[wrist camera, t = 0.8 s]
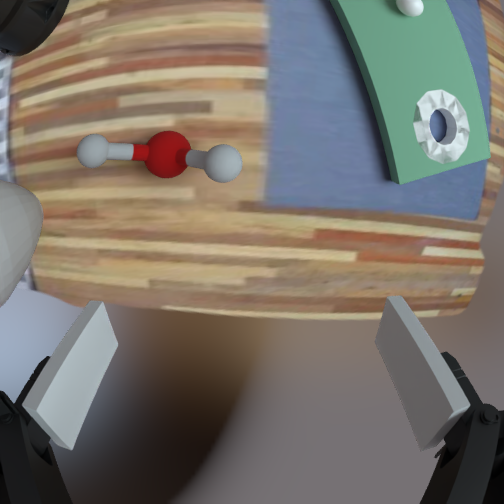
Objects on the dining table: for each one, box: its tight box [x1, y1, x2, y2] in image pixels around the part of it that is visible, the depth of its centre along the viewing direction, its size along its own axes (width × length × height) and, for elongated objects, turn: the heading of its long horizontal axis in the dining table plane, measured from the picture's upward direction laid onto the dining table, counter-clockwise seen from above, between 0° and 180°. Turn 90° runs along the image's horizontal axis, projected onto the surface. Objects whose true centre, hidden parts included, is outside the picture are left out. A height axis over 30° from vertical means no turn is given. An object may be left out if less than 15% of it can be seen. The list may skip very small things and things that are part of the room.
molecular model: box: [77, 131, 242, 183], centre depth 29 cm, size 18×6×10 cm, turn 80°
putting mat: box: [330, 0, 491, 185], centre depth 27 cm, size 28×18×2 cm, turn 20°
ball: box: [396, 0, 424, 17], centre depth 21 cm, size 4×4×4 cm
